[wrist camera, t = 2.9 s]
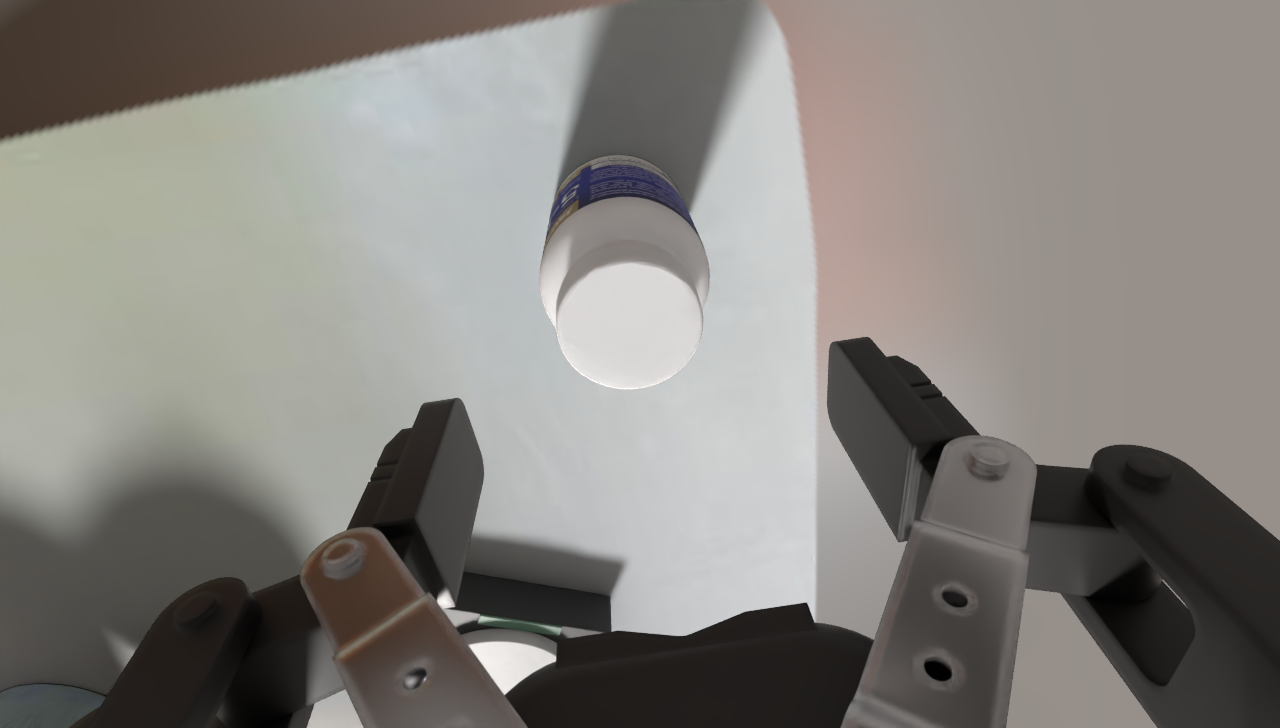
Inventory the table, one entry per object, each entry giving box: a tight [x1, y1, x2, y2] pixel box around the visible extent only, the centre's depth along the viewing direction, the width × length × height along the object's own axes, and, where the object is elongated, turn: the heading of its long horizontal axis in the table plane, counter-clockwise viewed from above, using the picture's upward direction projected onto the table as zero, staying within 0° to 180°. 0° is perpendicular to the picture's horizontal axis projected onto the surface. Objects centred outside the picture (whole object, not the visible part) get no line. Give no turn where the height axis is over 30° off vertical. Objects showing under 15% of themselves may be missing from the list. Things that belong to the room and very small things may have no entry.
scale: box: [443, 573, 611, 695], centre depth 35 cm, size 10×10×3 cm
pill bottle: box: [540, 155, 710, 389], centre depth 20 cm, size 5×5×9 cm
